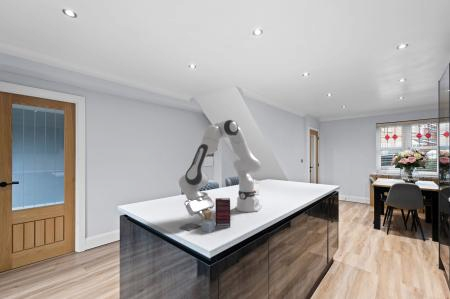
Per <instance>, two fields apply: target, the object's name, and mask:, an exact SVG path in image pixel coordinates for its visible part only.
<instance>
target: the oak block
mask: <svg viewBox="0 0 450 299" xmlns="http://www.w3.org/2000/svg"><path fill="white" fill-rule="evenodd" d="M202 213H203V214H204V215H206V218H205V219H203V218H202V217H201V218H202V220H201V223H202V222H203V221H206V220H212V219H213V211H212V210H211V211H208V210H206V211H203V212H202ZM212 221H213V220H212Z"/></svg>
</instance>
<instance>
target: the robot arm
mask: <svg viewBox="0 0 450 299" xmlns="http://www.w3.org/2000/svg"><path fill="white" fill-rule="evenodd" d="M227 137H228V139H229V141H230V145H231V148H232V151H233V153H234V155H236V156H237V157H238V158H236V159H235V160H234V161H233V169H235V171H236V173H237V177H238V191H237V192H238V193H237V194H238V197H237V198H236V200H237V201H236V205H235V209H236V210H237V211H239V212H243V213H251V212H252V213H253V212H259V211H260V210H261V209H262V208H263V205H262V204H260V199H259V198H258V197H257V196H256V194H257V190H255V189H254V188H255V183H254V182H255V181H254V179H253V177H252V176H251V174H253V173H257V172H259V171H260V170H261V166H262V165H261V162H260V160H259V159H257V158H256V157H255V156H254V155H253V154H254V153H252V152H251V150H250V148H249V146H248V143H247V140H246V138H245V135H244V132H243V131H242V129H241V128H240V127H239V126H238V123H237V122H236V121H235V120H233V119H228V120H222V121H221V122H218V123H215V124H210V125H208V126H207V127H206V130H205V131H204V133H203V136H202V140H201V142H200V145H199V146H198V148H197V150H196V153H195V155H194V157H193V159H192V163H191V164H190V166H189V168H188V169H187V171H186V172H185V173H184V175H182V176H181V177H180V178H179V179H178V185H179V188H180V190H181V191H182V193H183V194H184V196H185V197H186V198H185V199H186V200H185V201H184V202H183V203H184V206H185V208H186V211H187V212H188V214H189V216H191V217H192V216H196V215H198V216H199V217H201V218H203V219H205V218H206V215H204V214H203V213H202V212H203V211H206V210H208V211H212V210H211V209H213V208H214V207H215V202H214V201H213V200H212V198H211V197H210V196H209V194H208V192H205V191H200V189H202V188H204V187H206V186H207V185H208V183H209V176H208V175H207V174H206V173H205V172H203V171H202V168H203V165H204V163H205V159H206V158H207V156H208V155H212V154H214V153H215V152H216V151H217V149H218V146H219V142H220V139H221V138H227Z"/></svg>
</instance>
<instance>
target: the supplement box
mask: <svg viewBox="0 0 450 299" xmlns="http://www.w3.org/2000/svg"><path fill="white" fill-rule="evenodd" d="M214 207H215V229H216V228H217V229H218V228H231V199H230V197H220V198H219V197H216V198H215V202H214Z"/></svg>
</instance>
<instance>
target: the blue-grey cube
mask: <svg viewBox="0 0 450 299" xmlns="http://www.w3.org/2000/svg"><path fill="white" fill-rule="evenodd" d="M215 231H216V220H206V221H203V222H202V221H201V232H203V233H208V234H210V233H212V232H215Z"/></svg>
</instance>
